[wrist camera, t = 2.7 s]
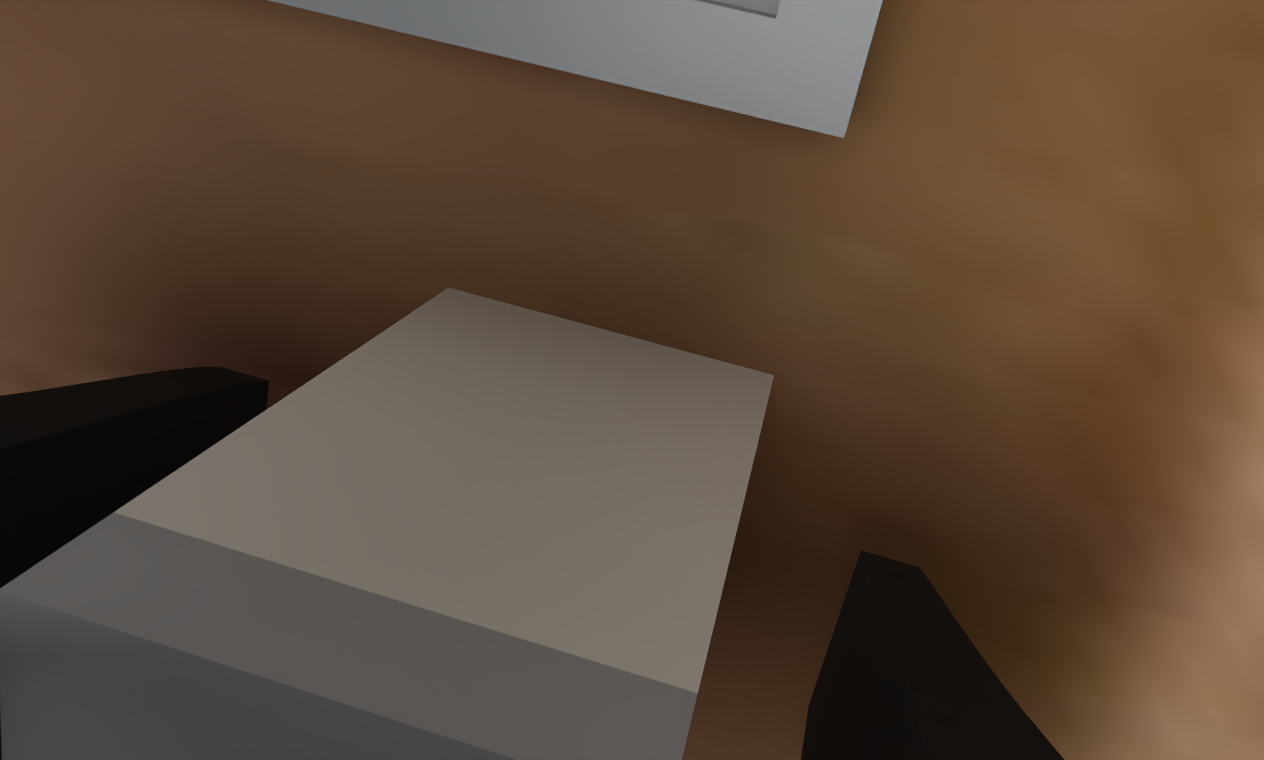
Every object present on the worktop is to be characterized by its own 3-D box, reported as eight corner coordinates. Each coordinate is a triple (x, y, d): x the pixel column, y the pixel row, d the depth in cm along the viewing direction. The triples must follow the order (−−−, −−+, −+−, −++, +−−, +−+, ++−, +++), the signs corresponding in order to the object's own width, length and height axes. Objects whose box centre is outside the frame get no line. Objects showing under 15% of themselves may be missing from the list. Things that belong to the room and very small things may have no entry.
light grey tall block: (695, 655, 13) (540, 1259, 7) (407, 568, 14) (11, 1055, 7) (774, 374, 12) (670, 810, 5) (449, 288, 12) (-3, 589, 6)
